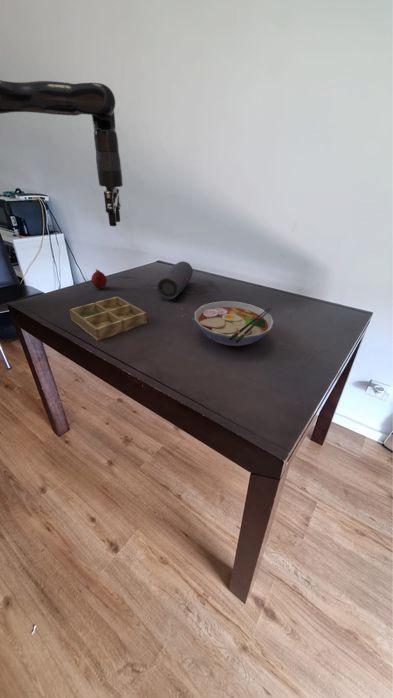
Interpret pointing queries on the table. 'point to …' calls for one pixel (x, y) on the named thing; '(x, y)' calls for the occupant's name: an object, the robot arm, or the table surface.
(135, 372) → the table surface
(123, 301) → the compartment tray
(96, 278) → the onion
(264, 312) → the ramen bowl
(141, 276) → the table surface
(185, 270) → the bluetooth speaker
